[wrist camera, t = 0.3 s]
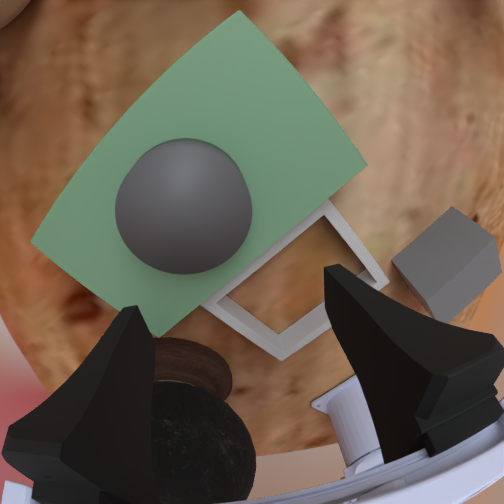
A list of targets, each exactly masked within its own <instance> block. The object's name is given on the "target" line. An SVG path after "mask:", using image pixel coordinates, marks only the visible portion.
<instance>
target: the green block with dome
mask: <svg viewBox="0 0 504 504" xmlns="http://www.w3.org/2000/svg"><path fill="white" fill-rule="evenodd" d="M366 166H367V163H366V162H365V160H364V159H363V157H362V156H361V154H360V153H359V151H358V150H357V148H356V147H355V146H354V144H353V143H352V141H351V140H350V139H349V137H348V136H347V134H346V133H345V132H344V130H343V129H342V127H341V126H340V125H339V123H338V122H337V121H336V119H335V118H334V117H333V115H332V114H331V113H330V111H329V110H328V109H327V108H326V106H325V105H324V104H323V102H322V101H321V100H320V99H319V97H318V96H317V95H316V94H315V92H314V91H313V90H312V89H311V87H310V86H309V85H308V84H307V83H306V81H305V80H304V79H303V78H302V77H301V75H300V74H299V73H298V72H297V71H296V69H295V68H294V67H293V66H292V65H291V64H290V63H289V61H288V60H287V59H286V58H285V57H284V56H283V55H282V54H281V52H280V51H279V50H278V49H277V48H276V47H275V46H274V45H273V44H272V43H271V41H270V40H269V39H268V38H267V37H266V36H265V35H264V34H263V33H262V32H261V31H260V30H259V29H258V28H257V27H256V26H255V25H254V24H253V23H252V22H251V21H250V20H249V19H248V18H247V17H246V16H245V15H244V14H243V13H242V12H241V11H240V10H238V11H237V12H235V13H234V14H233V15H231V16H230V17H229V18H228V19H226V20H225V21H224V22H222V23H221V24H220V25H219V26H217V27H216V28H215V29H214V30H212V31H211V32H210V33H209V34H207V35H206V36H205V37H204V38H203V39H201V40H200V41H199V42H198V43H197V44H195V45H194V46H193V47H192V48H191V49H190V50H189V51H187V52H186V53H185V54H184V55H183V56H182V57H181V58H180V59H178V60H177V61H176V62H175V63H174V64H173V65H172V66H171V67H170V68H169V69H168V70H167V71H166V72H165V73H163V74H162V75H161V76H160V77H159V78H158V79H157V80H156V81H155V82H154V83H153V84H152V85H151V86H150V87H149V88H148V89H147V90H146V91H145V92H144V93H143V94H142V95H141V96H140V98H139V99H138V100H137V101H136V102H135V103H134V104H133V105H132V106H131V107H130V108H129V109H128V110H127V111H126V113H125V114H124V115H123V116H122V117H121V118H120V119H119V120H118V121H117V123H116V124H115V125H114V126H113V127H112V128H111V130H110V131H109V132H108V133H107V134H106V135H105V137H104V138H103V139H102V140H101V141H100V143H99V144H98V145H97V146H96V148H95V149H94V150H93V151H92V153H91V154H90V155H89V156H88V158H87V159H86V160H85V161H84V163H83V164H82V165H81V167H80V168H79V169H78V171H77V172H76V173H75V175H74V176H73V177H72V179H71V180H70V182H69V183H68V184H67V186H66V187H65V189H64V190H63V191H62V193H61V194H60V196H59V197H58V199H57V200H56V202H55V203H54V205H53V206H52V208H51V209H50V211H49V212H48V214H47V215H46V217H45V218H44V220H43V221H42V223H41V225H40V226H39V228H38V229H37V231H36V233H35V234H34V236H33V238H32V239H31V241H30V242H31V243H32V244H33V245H34V246H35V247H36V248H38V249H39V250H40V251H41V252H42V253H43V254H45V255H46V256H47V257H48V258H49V259H51V260H52V261H53V262H54V263H56V264H57V265H58V266H59V267H60V268H62V269H63V270H64V271H65V272H67V273H68V274H69V275H71V276H72V277H73V278H74V279H76V280H77V281H78V282H80V283H81V284H82V285H83V286H85V287H86V288H87V289H89V290H90V291H91V292H93V293H94V294H95V295H97V296H98V297H100V298H101V299H102V300H104V301H105V302H106V303H108V304H109V305H111V306H112V307H113V308H115V309H116V310H118V311H119V312H120V311H121V310H122V308H123V307H128V306H134V305H138V307H139V310H140V312H141V314H142V316H143V318H144V320H145V322H146V324H147V327H148V329H149V331H150V333H152V334H153V335H155V336H156V337H158V338H160V337H161V336H162V335H163V334H165V333H166V332H167V331H168V330H170V329H171V328H172V327H173V326H174V325H176V324H177V323H178V322H179V321H181V320H182V319H183V318H184V317H185V316H187V315H188V314H189V313H190V312H191V311H193V310H194V309H195V308H196V307H198V306H199V305H201V306H202V307H204V308H205V309H207V310H208V311H209V312H211V313H212V314H213V315H215V316H216V317H218V318H219V319H220V320H222V321H223V322H225V323H226V324H227V325H229V326H230V327H232V328H233V329H235V330H236V331H237V332H239V333H240V334H242V335H243V336H245V337H246V338H248V339H249V340H250V341H252V342H253V343H255V344H256V345H258V346H259V347H261V348H262V349H264V350H265V351H267V352H268V353H270V354H271V355H273V356H274V357H276V358H277V359H279V360H280V361H283V360H284V359H286V358H287V357H289V356H290V355H292V354H293V353H295V352H296V351H298V350H299V349H300V348H302V347H303V346H305V345H306V344H308V343H309V342H311V341H312V340H313V339H315V338H316V337H318V336H319V335H321V334H322V333H323V332H325V331H326V330H327V329H329V328H330V327H332V326H331V324H330V321H329V318H328V316H327V313H326V310H325V301H323V302H322V303H321V304H319V305H318V306H317V307H315V308H314V309H313V310H311V311H310V312H309V313H307V314H306V315H305V316H303V317H302V318H301V319H299V320H298V321H297V322H295V323H294V324H292V325H291V326H290V327H288V328H287V329H285V330H284V331H283V332H281V333H280V334H277V333H275V332H274V331H273V330H271V329H270V328H269V327H267V326H266V325H265V324H263V323H262V322H261V321H259V320H258V319H257V318H255V317H254V316H253V315H251V314H250V313H249V312H248V311H246V310H245V309H244V308H242V307H241V306H240V305H238V304H237V303H236V302H235V301H233V300H232V299H231V298H229V297H228V296H227V295H226V294H228V293H229V292H230V291H231V290H233V289H234V288H235V287H236V286H238V285H239V284H240V283H241V282H242V281H244V280H245V279H246V278H247V277H249V276H250V275H251V274H252V273H254V272H255V271H256V270H257V269H258V268H260V267H261V266H262V265H263V264H265V263H266V262H267V261H268V260H270V259H271V258H272V257H273V256H274V255H276V254H277V253H278V252H279V251H280V250H282V249H283V248H284V247H285V246H287V245H288V244H289V243H290V242H291V241H293V240H294V239H295V238H296V237H298V236H299V235H300V234H301V233H302V232H304V231H305V230H306V229H307V228H308V227H310V226H311V225H312V224H313V223H314V222H316V221H317V220H318V219H319V218H320V217H322V216H323V215H325V216H326V218H327V219H328V220H329V221H330V222H331V224H332V225H333V226H334V227H335V229H336V230H337V231H338V232H339V234H340V235H341V236H342V237H343V239H344V240H345V241H346V242H347V244H348V245H349V246H350V248H351V249H352V250H353V251H354V253H355V254H356V255H357V257H358V258H359V259H360V260H361V262H362V263H363V264H364V266H365V267H366V269H364V270H363V271H362V272H361V273H359V274H358V275H357V277H358V278H360V279H361V280H363V281H364V282H366V283H367V284H369V285H370V286H372V287H373V288H375V289H376V290H378V291H379V290H380V289H381V288H383V287H384V286H385V285H386V284H388V283H389V282H390V281H389V280H388V278H387V277H386V276H385V274H384V273H383V271H382V270H381V268H380V267H379V266H378V264H377V263H376V261H375V260H374V259H373V257H372V256H371V254H370V253H369V252H368V250H367V249H366V248H365V246H364V245H363V243H362V242H361V241H360V239H359V238H358V237H357V235H356V234H355V233H354V231H353V230H352V229H351V227H350V226H349V225H348V223H347V222H346V221H345V219H344V218H343V217H342V216H341V214H340V213H339V212H338V210H337V209H336V208H335V207H334V205H333V204H332V203H331V201H330V200H329V199H328V198H329V197H330V196H331V195H333V194H334V193H335V192H336V191H337V190H339V189H340V188H341V187H342V186H343V185H345V184H346V183H347V182H348V181H349V180H351V179H352V178H353V177H354V176H355V175H357V174H358V173H359V172H360V171H361V170H362V169H364V168H365V167H366Z"/></svg>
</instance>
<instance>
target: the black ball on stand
mask: <svg viewBox="0 0 504 504" xmlns="http://www.w3.org/2000/svg"><path fill="white" fill-rule="evenodd" d="M153 339H154V341H155V373H154V383H153V393H152V403H151V417H150V426H151V445H152V456H153V465H154V472H155V479H156V485H157V491H158V496H159V501H160V504H218V503H228V502H236V501H244V500H247V497H248V496H249V493H250V491H251V489H252V487H253V482H254V477H255V471H256V453H255V449H254V446H253V442H252V439H251V436H250V434H249V432H248V430H247V428H246V426H245V424H244V423H243V421H242V419H241V418H240V417H239V416H238V415H237V414H236V413H235V412H234V411H233V409H232V408H231V407H230V406H229V405H228V404H227V403H226V402H224V401H225V400H226V398H227V397H228V395H229V394H230V392H231V389H232V374H231V371H230V368H229V366H228V364H227V363H226V361H225V360H224V359H223V358H222V357H221V356H220V355H219V354H218V353H217V352H215V351H213V350H211V349H210V348H208V347H206V346H204V345H201V344H199V343H196V342H193V341H189V340H185V339H178V338H153Z"/></svg>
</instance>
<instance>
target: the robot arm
mask: <svg viewBox="0 0 504 504" xmlns="http://www.w3.org/2000/svg"><path fill="white" fill-rule="evenodd" d="M324 294H325V310H326V313H327V316H328V318H329V321H330V324H331V326H332V329H333V331H334V333H335V335H336V337H337V339H338V341H339V343H340V345H341V347H342V348H343V350H344V352H345V354H346V356H347V358H348V360H349V362H350V364H351V366H352V368H353V370H354V372H355V374H356V375H354V376H353V377H351V378H350V379H348V380H346V381H345V382H343V383H342V384H340V385H339V386H337V387H335V388H334V389H332V390H331V391H329V392H327V393H326V394H324V395H322V396H321V397H319V398H317V399H316V400H314V401H313V402H311V406H312V407H313V408H315V409H317V410H319V411H321V412H323V413H325V414H327V415H329V417H330V420H331V423H332V426H333V429H334V432H335V435H336V437H337V440H338V443H339V446H340V449H341V452H342V455H343V458H344V461H345V464H346V467H347V468H345V469H343V472H344V475H345V477H343V478H341V479H340V480H338V481H334V482H331V483H327V484H324V485H320V486H316V487H312V488H308V489H304V490H300V491H295V492H290V493H285V494H280V495H275V496H270V497H264V498H258V499H251V500H244V501H236V502H228V503H218V504H462V503H463V502H465V501H467V500H468V499H470V498H472V497H473V496H475V495H476V494H478V493H480V492H481V491H483V490H484V489H486V488H487V487H489V486H490V485H491V484H493V483H495V482H496V481H497V480H499V479H500V478H501V477H503V476H504V397H503V398H502V399H501V400H500V401H498V400H497V398H496V397H495V395H497V393H498V392H497V389H496V388H495V386H494V385H493V384H494V383H495V381H496V380H497V378H498V376H499V375H500V373H501V371H502V369H503V368H504V348H503V346H502V345H501V344H500V343H499V341H498V340H497V339H496V338H495V336H494V335H493V334H488V333H483V332H478V331H473V330H468V329H464V328H460V327H457V326H453V325H450V324H447V323H444V322H441V321H438V320H435V319H433V318H430V317H427V316H425V315H423V314H420V313H418V312H416V311H414V310H412V309H410V308H408V307H406V306H404V305H402V304H400V303H398V302H396V301H394V300H393V299H391V298H389V297H388V296H386V295H384V294H383V293H381V292H379V291H378V290H376V289H375V288H373V287H372V286H370V285H369V284H367V283H366V282H364V281H363V280H361V279H360V278H358V277H357V276H356V275H354V274H353V273H351V272H350V271H349V270H347V269H346V268H344V267H343V266H341V265H340V264H336V265H331V266H327V267H324ZM154 373H155V341H154V339H153V337H152V335H151V333H150V331H149V329H148V327H147V324H146V322H145V320H144V318H143V316H142V314H141V312H140V310H139V307H138V305H134V306H128V307H123V308H122V310H121V311H120V312H119V314H118V315H117V316H116V318H115V319H114V321H113V322H112V323H111V325H110V326H109V328H108V329H107V330H106V332H105V333H104V335H103V336H102V337H101V339H100V340H99V342H98V343H97V344H96V346H95V347H94V348H93V350H92V351H91V352H90V353H89V355H88V356H87V357H86V359H85V360H84V361H83V363H82V364H81V365H80V366H79V367H78V368H77V370H76V371H75V372H74V373H73V374H72V375H71V376H70V377H69V378H68V380H67V381H66V382H65V383H64V384H63V385H61V386H60V387H59V388H58V389H57V390H56V391H55V392H54V393H53V394H52V395H51V396H50V397H49V398H48V399H46V400H45V401H44V402H43V403H42V404H40V405H39V406H38V407H36V408H35V409H34V410H33V411H31V412H30V413H28V414H27V415H25V416H24V417H23V418H21V419H20V420H18V421H16V422H15V423H13V424H12V425H10V426H9V428H8V432H7V435H6V438H5V442H4V446H3V450H2V456H3V458H4V459H5V461H6V462H7V463H8V464H10V465H11V466H12V467H13V468H15V469H16V470H18V471H19V472H21V473H22V474H23V475H25V476H26V477H28V478H29V479H31V480H32V481H34V484H33V488H32V487H29V486H27V485H24V484H20V483H16V482H12V481H8V480H6V481H5V486H4V491H3V497H2V503H1V504H160V501H159V496H158V491H157V485H156V479H155V472H154V465H153V456H152V445H151V426H150V417H151V403H152V393H153V383H154Z"/></svg>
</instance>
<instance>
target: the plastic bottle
mask: <svg viewBox="0 0 504 504" xmlns="http://www.w3.org/2000/svg"><path fill="white" fill-rule="evenodd" d="M30 1H31V0H0V29H1V28H3V27H4V26H6V25H7V24H8V23H10V22H11V21H12V20H13V19H14V18H15V17H16V16H18V15H19V14H20V13H21V12H22V11H23V9H24V8H25V7H26V6H27V5H28V3H29V2H30Z"/></svg>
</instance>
